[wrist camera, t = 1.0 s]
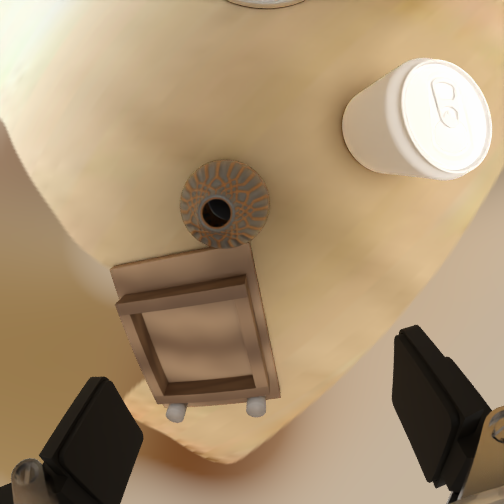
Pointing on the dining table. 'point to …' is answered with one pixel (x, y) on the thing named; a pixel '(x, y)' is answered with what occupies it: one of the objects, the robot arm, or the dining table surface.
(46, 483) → the robot arm
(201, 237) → the vase
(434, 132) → the beverage can
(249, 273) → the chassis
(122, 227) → the dining table surface
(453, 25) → the dining table surface
